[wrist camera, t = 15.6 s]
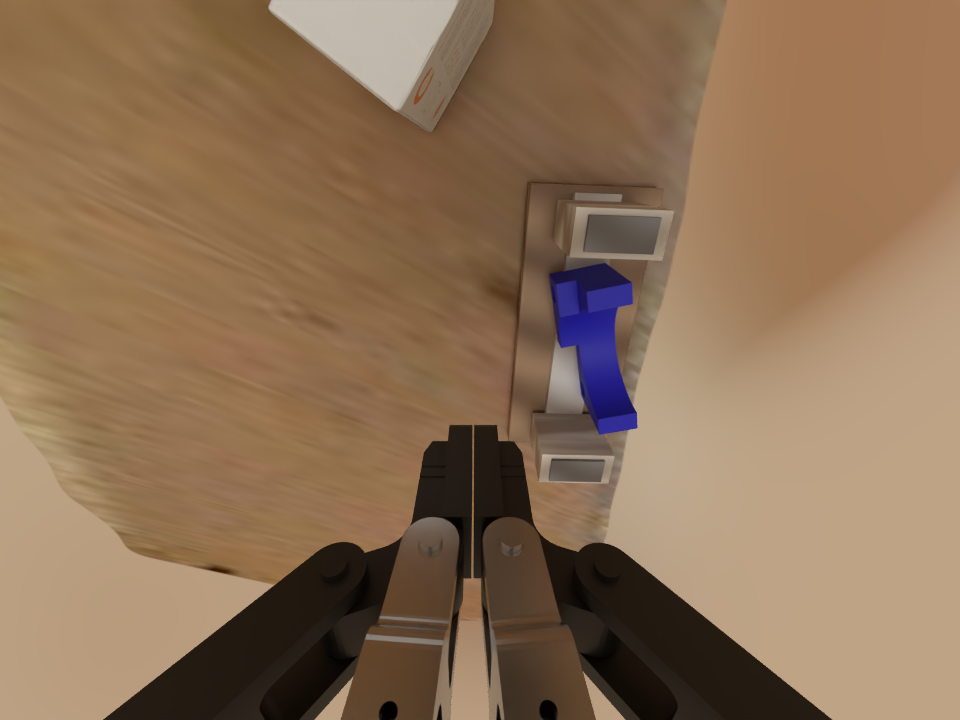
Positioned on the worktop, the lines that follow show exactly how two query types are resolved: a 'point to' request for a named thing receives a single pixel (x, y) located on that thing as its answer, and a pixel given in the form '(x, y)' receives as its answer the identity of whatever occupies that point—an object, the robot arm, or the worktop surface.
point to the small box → (396, 46)
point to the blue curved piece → (595, 339)
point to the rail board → (538, 356)
